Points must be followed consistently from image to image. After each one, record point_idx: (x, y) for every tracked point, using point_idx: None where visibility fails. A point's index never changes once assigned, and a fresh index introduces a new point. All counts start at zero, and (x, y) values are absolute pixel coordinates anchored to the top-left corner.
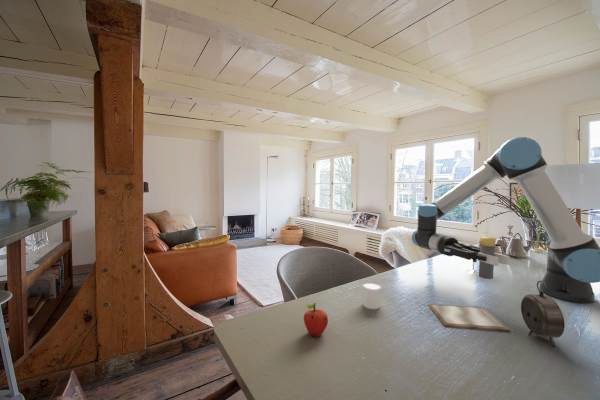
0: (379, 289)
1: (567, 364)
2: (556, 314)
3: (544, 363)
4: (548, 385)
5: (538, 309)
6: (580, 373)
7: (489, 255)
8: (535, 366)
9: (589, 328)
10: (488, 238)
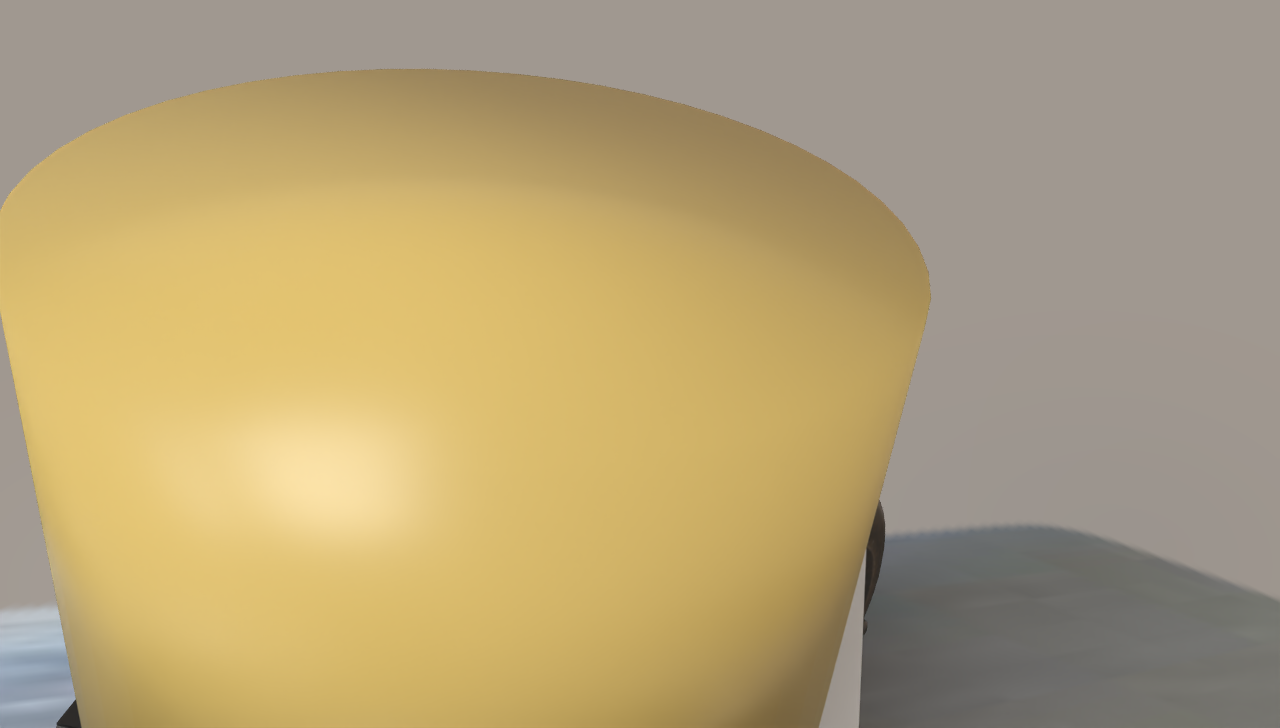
0: None
1: (902, 618)
2: None
3: (1054, 687)
4: (1249, 628)
5: (879, 537)
6: (928, 571)
7: (841, 675)
8: (1157, 706)
9: (22, 631)
10: (681, 176)
